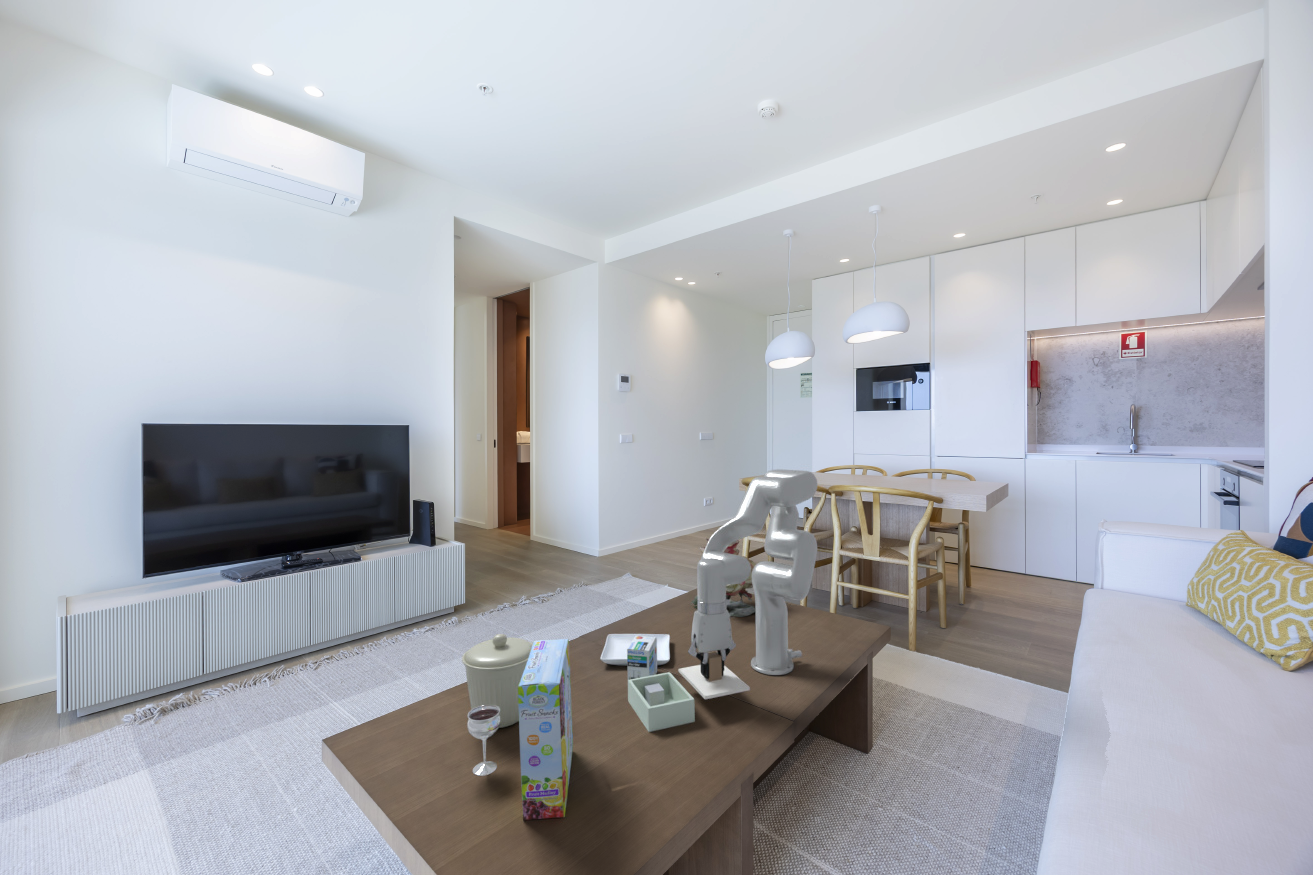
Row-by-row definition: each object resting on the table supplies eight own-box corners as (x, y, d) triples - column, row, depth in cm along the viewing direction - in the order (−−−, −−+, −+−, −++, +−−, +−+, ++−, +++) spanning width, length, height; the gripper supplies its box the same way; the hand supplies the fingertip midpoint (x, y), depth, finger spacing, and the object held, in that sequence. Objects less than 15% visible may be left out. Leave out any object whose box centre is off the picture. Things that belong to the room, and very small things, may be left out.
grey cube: (658, 698, 144) (658, 683, 143) (664, 705, 140) (664, 689, 140) (644, 700, 142) (644, 685, 142) (650, 708, 138) (649, 692, 138)
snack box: (534, 752, 121) (532, 638, 120) (574, 750, 121) (572, 636, 121) (518, 822, 99) (515, 683, 99) (566, 819, 100) (563, 681, 100)
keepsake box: (628, 702, 143) (627, 679, 142) (670, 693, 147) (669, 671, 147) (648, 733, 128) (648, 708, 128) (694, 723, 132) (694, 698, 132)
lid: (678, 671, 148) (678, 646, 148) (719, 663, 152) (719, 640, 152) (705, 699, 132) (704, 671, 132) (749, 689, 137) (749, 663, 137)
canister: (551, 705, 141) (549, 625, 141) (510, 743, 124) (509, 652, 124) (492, 695, 147) (491, 618, 147) (446, 730, 130) (445, 643, 130)
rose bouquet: (717, 624, 199) (716, 543, 198) (684, 601, 226) (683, 530, 226) (776, 615, 208) (775, 537, 208) (738, 594, 235) (737, 525, 235)
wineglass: (462, 777, 112) (461, 720, 112) (475, 758, 119) (474, 704, 119) (494, 778, 112) (493, 721, 112) (505, 758, 119) (504, 704, 118)
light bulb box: (650, 689, 150) (649, 650, 150) (626, 687, 151) (626, 649, 151) (657, 672, 160) (657, 636, 160) (635, 670, 162) (635, 634, 161)
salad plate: (669, 642, 183) (669, 632, 183) (670, 670, 162) (669, 658, 162) (607, 642, 184) (607, 632, 184) (599, 670, 163) (599, 659, 163)
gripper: (732, 598, 149) (733, 664, 149) (677, 605, 143) (678, 674, 143) (746, 606, 142) (747, 675, 142) (689, 614, 136) (689, 687, 136)
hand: (712, 674), depth 142 cm, fingers closed on lid, 3 cm apart
